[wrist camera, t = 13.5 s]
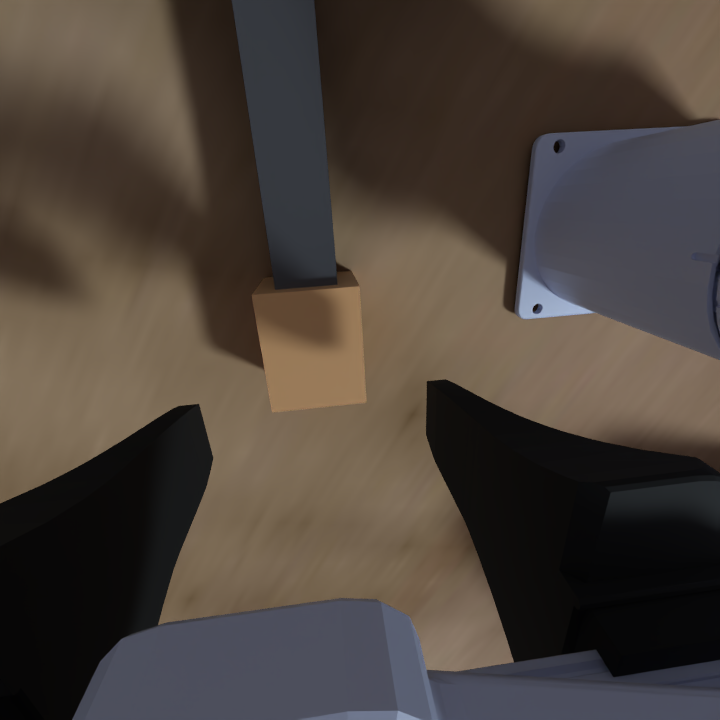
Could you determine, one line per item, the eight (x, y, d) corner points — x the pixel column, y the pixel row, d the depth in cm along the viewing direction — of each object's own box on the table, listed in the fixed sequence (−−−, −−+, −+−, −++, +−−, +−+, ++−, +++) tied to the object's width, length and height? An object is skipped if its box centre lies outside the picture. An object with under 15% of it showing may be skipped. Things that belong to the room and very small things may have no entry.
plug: (218, -10, 13) (184, -85, 10) (332, -12, 13) (337, -85, 10) (280, 376, 19) (272, 412, 15) (358, 368, 19) (366, 402, 16)
